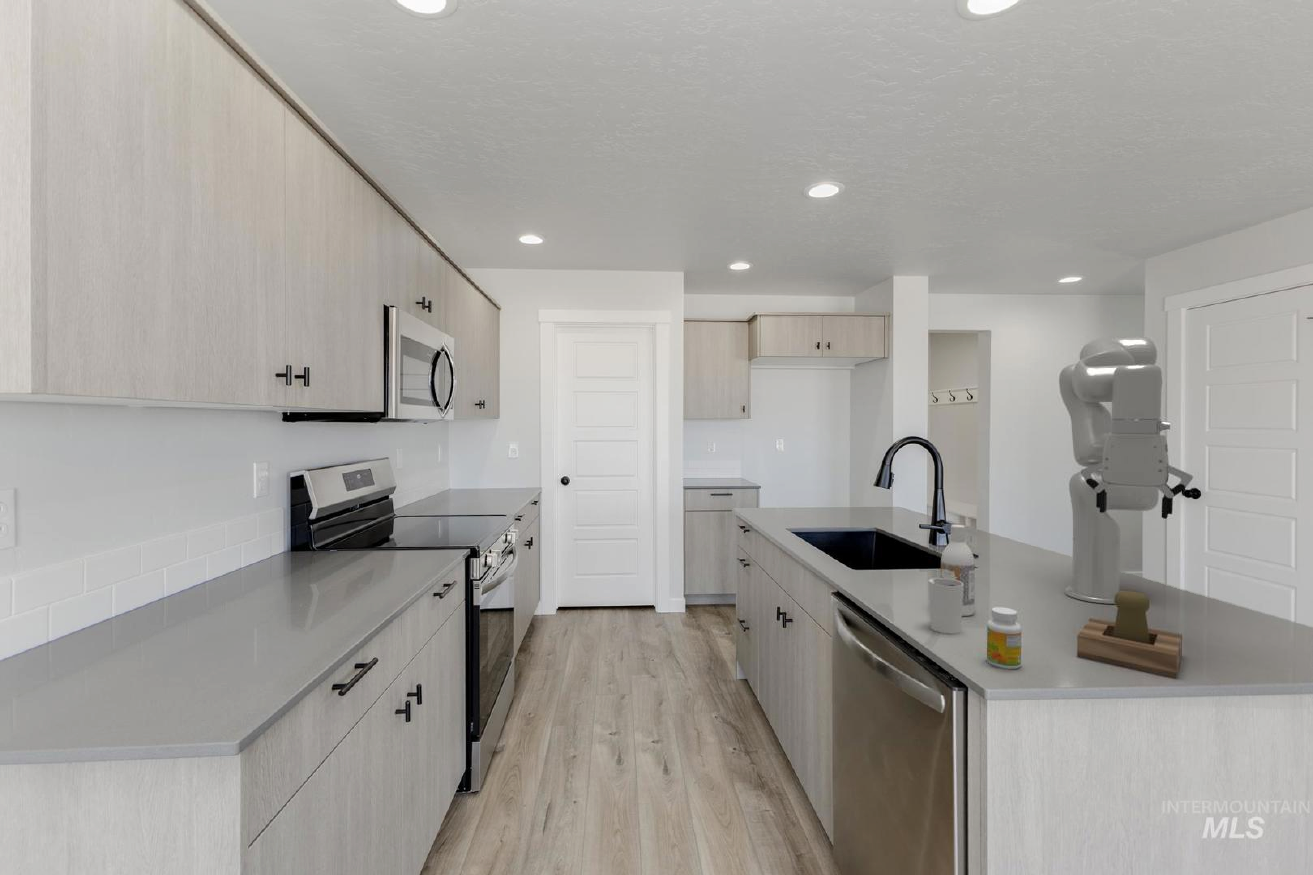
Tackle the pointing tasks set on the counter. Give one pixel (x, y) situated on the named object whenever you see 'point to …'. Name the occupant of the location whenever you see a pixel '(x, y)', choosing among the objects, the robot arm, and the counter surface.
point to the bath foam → (960, 566)
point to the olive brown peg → (1131, 616)
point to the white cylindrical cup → (945, 605)
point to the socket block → (1131, 649)
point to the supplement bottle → (1004, 639)
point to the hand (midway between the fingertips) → (1132, 514)
